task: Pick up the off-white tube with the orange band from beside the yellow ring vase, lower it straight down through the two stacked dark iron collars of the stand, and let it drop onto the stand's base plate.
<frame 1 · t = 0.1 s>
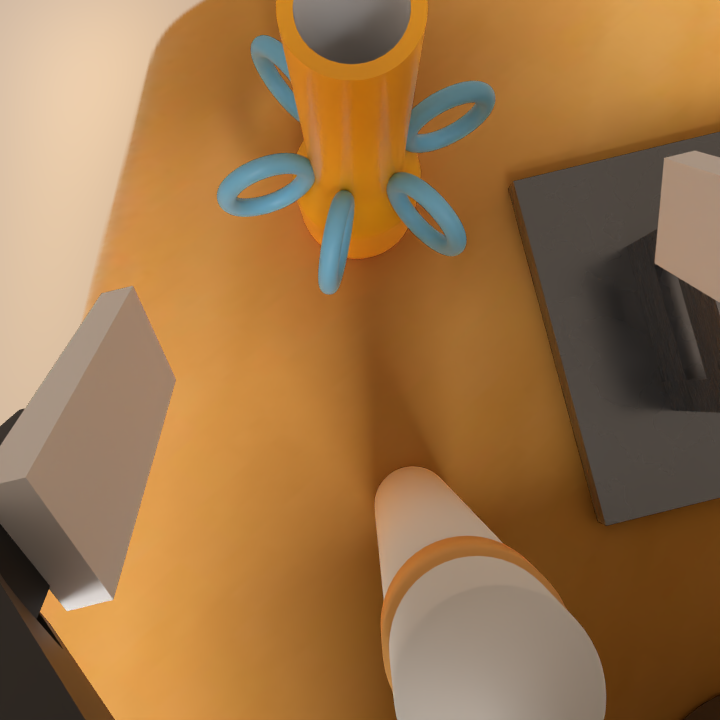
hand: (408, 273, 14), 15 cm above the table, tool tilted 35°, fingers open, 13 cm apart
tube: (413, 505, 28), on the table
yellow ring vase: (358, 207, 30), on the table
collar stand: (717, 311, 29), on the table
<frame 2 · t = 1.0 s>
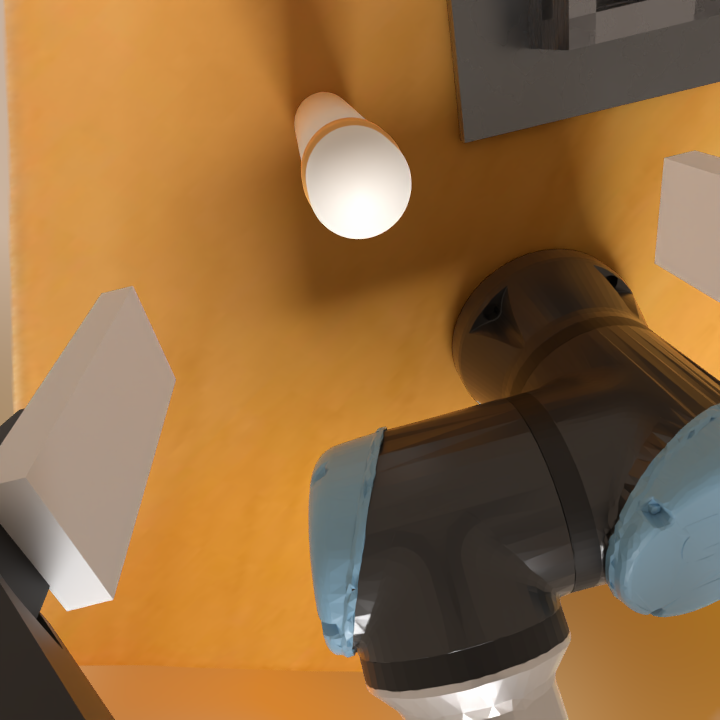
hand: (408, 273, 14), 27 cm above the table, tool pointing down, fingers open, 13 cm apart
tube: (324, 125, 36), on the table
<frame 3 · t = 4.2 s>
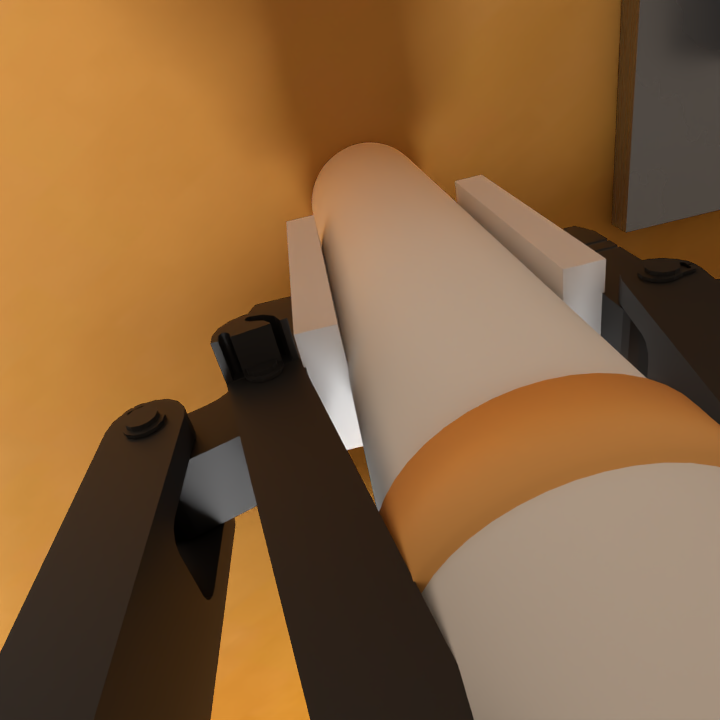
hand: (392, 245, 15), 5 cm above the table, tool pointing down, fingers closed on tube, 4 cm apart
tube: (368, 202, 19), on the table, touching gripper
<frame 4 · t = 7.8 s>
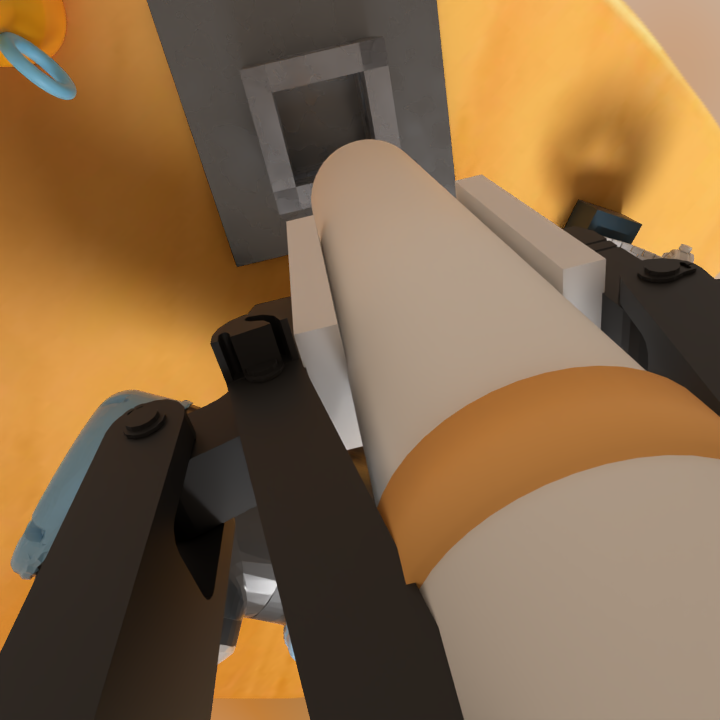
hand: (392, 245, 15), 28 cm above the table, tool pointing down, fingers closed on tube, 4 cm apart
watch: (584, 236, 47), on the table
tube: (368, 199, 19), point 24 cm above the table, touching gripper
yellow ring vase: (18, 10, 34), on the table
collar stand: (320, 117, 40), on the table
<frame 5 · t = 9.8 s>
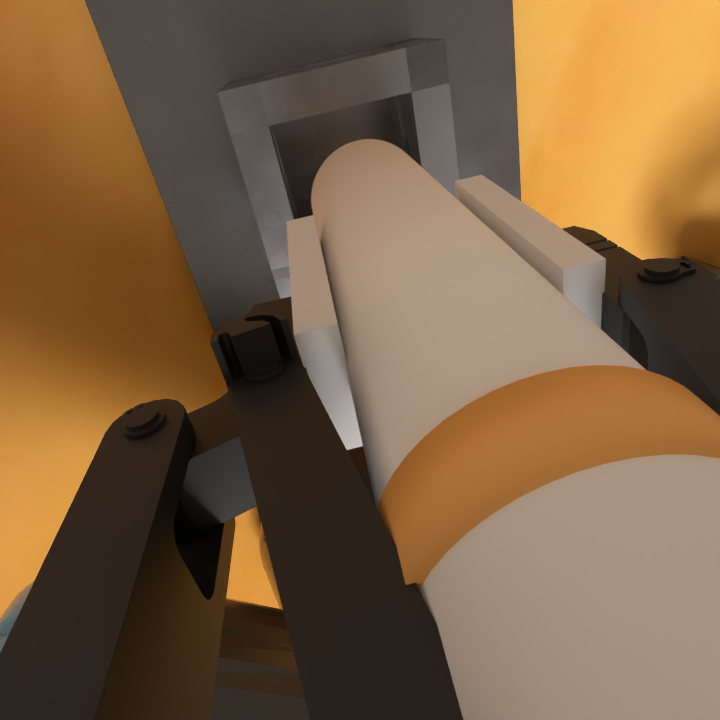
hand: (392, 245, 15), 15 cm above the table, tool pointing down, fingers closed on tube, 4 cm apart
watch: (683, 302, 36), on the table
tube: (368, 199, 19), point 10 cm above the table, touching gripper
collar stand: (338, 153, 28), on the table
when the fingers open (9 cm above the table, at t = 11.6 s): tube drops 3 cm, resting on collar stand.
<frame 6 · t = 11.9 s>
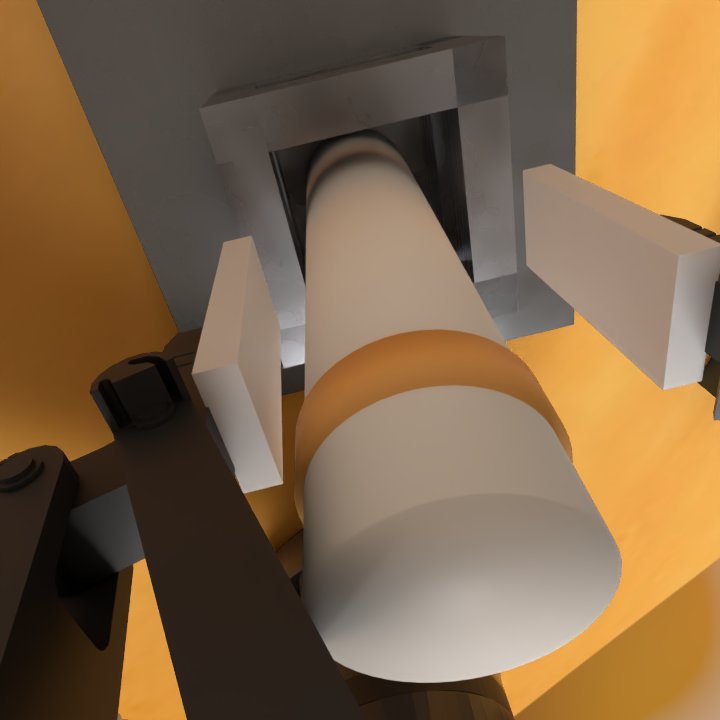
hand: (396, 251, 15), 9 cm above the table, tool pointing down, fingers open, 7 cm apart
tube: (357, 181, 22), point 1 cm above the table, touching collar stand
collar stand: (354, 177, 23), on the table
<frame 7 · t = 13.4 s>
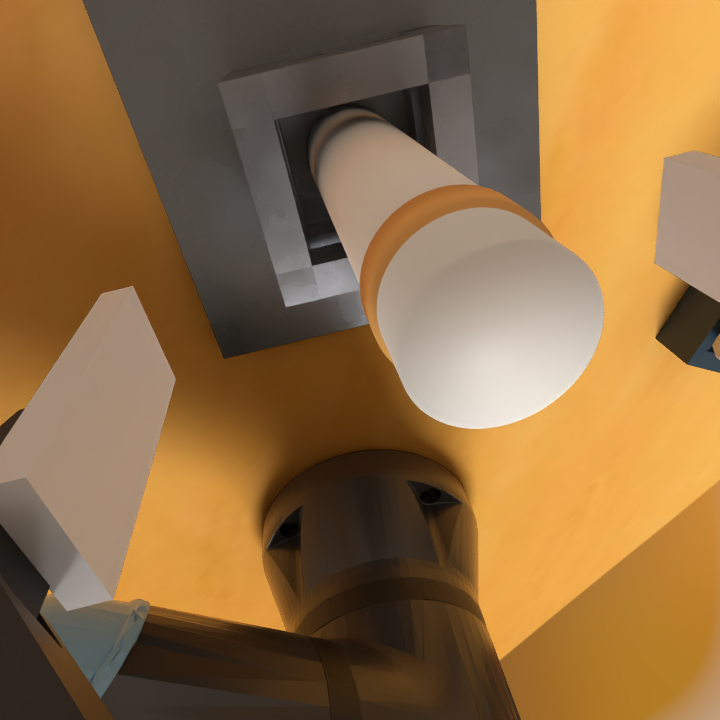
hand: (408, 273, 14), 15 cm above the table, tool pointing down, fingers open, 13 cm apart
watch: (707, 306, 34), on the table
tube: (349, 151, 25), point 1 cm above the table, touching collar stand
collar stand: (347, 148, 26), on the table
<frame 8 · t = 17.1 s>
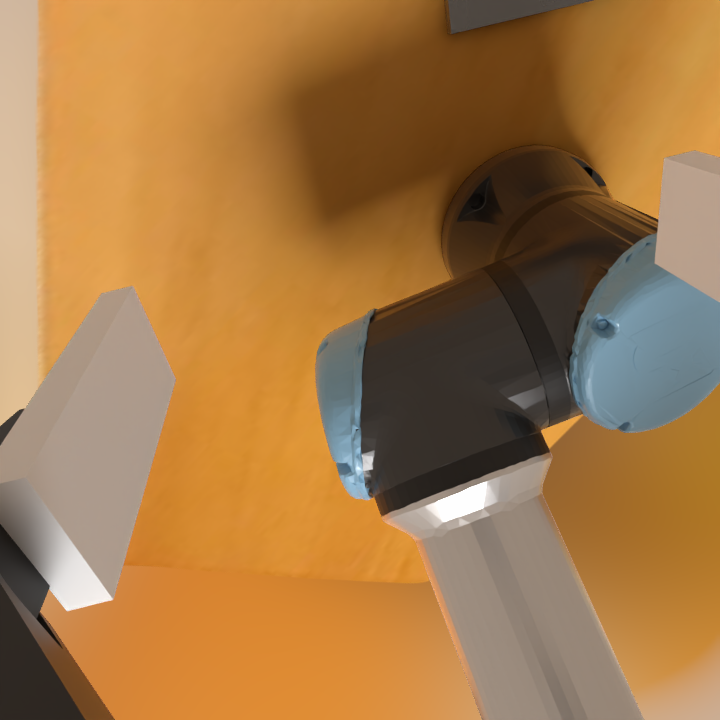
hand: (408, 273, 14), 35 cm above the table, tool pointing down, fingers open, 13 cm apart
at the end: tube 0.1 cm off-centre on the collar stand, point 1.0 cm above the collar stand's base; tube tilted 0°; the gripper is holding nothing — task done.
